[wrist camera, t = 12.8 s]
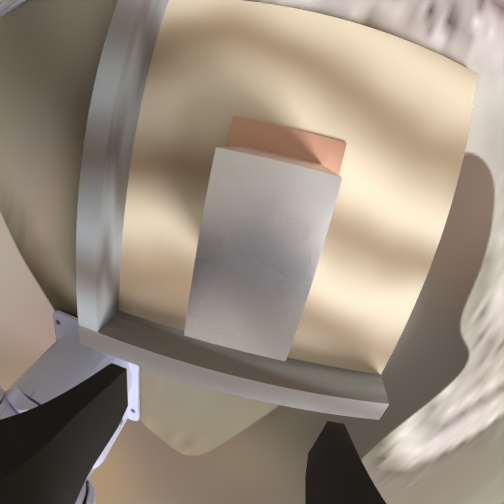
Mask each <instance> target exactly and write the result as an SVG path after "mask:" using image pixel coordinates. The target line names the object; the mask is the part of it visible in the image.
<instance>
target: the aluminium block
mask: <svg viewBox="0 0 504 504" xmlns="http://www.w3.org/2000/svg"><path fill="white" fill-rule="evenodd" d="M341 181H342V177H341V176H339V175H338V174H336V173H335V172H333V171H331V170H330V169H328V168H327V167H325V166H323V165H321V164H317V163H314V162H310V161H306V160H302V159H298V158H294V157H290V156H286V155H282V154H277V153H273V152H269V151H264V150H260V149H255V148H251V147H216V149H215V154H214V159H213V164H212V169H211V174H210V179H209V184H208V189H207V195H206V200H205V205H204V211H203V216H202V222H201V228H200V233H199V239H198V245H197V251H196V257H195V263H194V270H193V276H192V283H191V289H190V296H189V303H188V310H187V317H186V324H185V331H184V336H188V337H191V338H195V339H198V340H202V341H205V342H209V343H213V344H216V345H220V346H224V347H228V348H231V349H235V350H239V351H243V352H247V353H251V354H256V355H260V356H264V357H268V358H273V359H277V360H281V361H286V359H287V356H288V353H289V350H290V348H291V345H292V342H293V339H294V336H295V333H296V330H297V327H298V324H299V321H300V318H301V315H302V312H303V309H304V306H305V303H306V300H307V297H308V294H309V291H310V288H311V285H312V281H313V278H314V275H315V272H316V269H317V265H318V262H319V259H320V255H321V252H322V249H323V245H324V242H325V239H326V235H327V232H328V228H329V225H330V221H331V218H332V214H333V210H334V207H335V203H336V200H337V196H338V192H339V188H340V185H341Z"/></svg>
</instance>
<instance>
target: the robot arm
mask: <svg viewBox="0 0 504 504" xmlns="http://www.w3.org/2000/svg"><path fill="white" fill-rule="evenodd" d="M53 316H54V325H55V332H56V340H57V341H56V342H55V343H54V344H53V345H52V346H51V347H50V348H49V349H48V350H47V351H46V352H45V353H44V354H43V355H42V356H41V357H40V358H39V359H38V360H37V361H36V362H35V363H34V364H33V365H32V366H31V367H30V368H29V369H28V370H27V371H26V372H25V373H24V374H23V375H22V376H21V377H20V378H19V379H18V380H17V381H16V382H15V383H14V384H13V385H12V386H11V387H10V388H9V389H8V390H6V391H3V389H2V388H1V387H0V504H95V496H96V495H95V487H94V485H93V483H92V482H91V481H90V480H89V477H90V475H91V473H92V472H93V470H94V469H95V468H96V467H98V466H99V465H100V464H101V463H102V462H103V461H104V459H105V457H106V456H107V454H108V452H109V450H110V448H111V446H112V445H113V443H114V441H115V439H116V438H117V436H118V434H119V433H120V431H121V429H122V427H123V425H124V423H125V422H126V420H127V418H128V419H130V420H133V421H138V420H139V417H140V411H139V366H138V365H135V364H132V363H129V362H127V361H124V360H121V359H118V358H116V357H113V356H111V355H108V354H106V353H103V352H101V351H98V350H96V349H93V348H91V347H88V346H86V345H84V344H81V343H80V338H79V326H78V318H76V317H74V316H72V315H69V314H67V313H64V312H62V311H60V310H57V311H55V312H54V315H53ZM59 321H60V322H59ZM306 504H386V503H385V501H384V500H383V498H382V497H381V495H380V493H379V492H378V490H377V488H376V487H375V485H374V483H373V482H372V480H371V478H370V476H369V474H368V473H367V471H366V469H365V467H364V465H363V463H362V461H361V459H360V457H359V455H358V453H357V451H356V449H355V447H354V444H353V442H352V440H351V438H350V435H349V433H348V431H347V429H346V427H345V425H344V424H343V423H335V422H329V421H328V422H327V423H326V425H325V427H324V428H323V430H322V432H321V434H320V435H319V437H318V439H317V440H316V442H315V443H314V445H313V447H312V448H311V450H310V451H309V453H308V461H307V469H306Z"/></svg>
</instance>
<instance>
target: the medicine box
mask: <svg viewBox="0 0 504 504" xmlns="http://www.w3.org/2000/svg"><path fill="white" fill-rule="evenodd" d="M25 1H27V0H0V17H2V16H3V15H5V14H6V13H8V12H9V11H11V10H12V9H14V8H16V7H17V6H19V5H20V4H22V3H24V2H25Z"/></svg>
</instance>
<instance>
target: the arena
mask: <svg viewBox="0 0 504 504" xmlns="http://www.w3.org/2000/svg"><path fill="white" fill-rule="evenodd" d="M477 76H478V74H477V73H476V72H474V71H472V70H470V69H468V68H466V67H464V66H462V65H460V64H458V63H456V62H454V61H452V60H450V59H448V58H446V57H444V56H442V55H440V54H438V53H435V52H433V51H431V50H429V49H426V48H424V47H422V46H419V45H417V44H414V43H412V42H409V41H407V40H404V39H402V38H399V37H396V36H394V35H391V34H388V33H385V32H382V31H379V30H376V29H373V28H370V27H367V26H364V25H361V24H357V23H354V22H351V21H347V20H343V19H340V18H336V17H332V16H328V15H324V14H320V13H315V12H311V11H306V10H301V9H296V8H291V7H286V6H280V5H274V4H267V3H260V2H252V1H243V0H118V1H117V4H116V7H115V10H114V13H113V16H112V19H111V22H110V26H109V29H108V32H107V36H106V39H105V43H104V46H103V50H102V54H101V58H100V62H99V66H98V70H97V74H96V79H95V83H94V88H93V93H92V98H91V103H90V108H89V114H88V119H87V125H86V132H85V139H84V146H83V153H82V162H81V171H80V181H79V193H78V207H77V227H76V292H77V312H78V326H79V338H80V343H81V344H84V345H86V346H88V347H91V348H93V349H96V350H98V351H101V352H103V353H106V354H108V355H111V356H113V357H116V358H118V359H121V360H124V361H127V362H129V363H132V364H135V365H138V366H140V367H143V368H146V369H149V370H152V371H155V372H158V373H161V374H164V375H167V376H170V377H173V378H177V379H180V380H183V381H186V382H190V383H193V384H197V385H200V386H204V387H207V388H211V389H215V390H218V391H222V392H226V393H230V394H234V395H238V396H242V397H246V398H251V399H255V400H259V401H264V402H269V403H273V404H278V405H283V406H289V407H294V408H299V409H305V410H310V411H316V412H324V413H329V414H336V415H344V416H351V417H359V418H368V419H378V420H379V419H380V417H381V416H382V414H383V413H384V411H385V410H386V408H387V407H388V405H389V401H388V398H387V395H386V391H385V388H384V385H383V381H382V378H381V373H382V371H383V369H384V367H385V365H386V364H387V362H388V360H389V357H390V356H391V354H392V352H393V350H394V348H395V346H396V344H397V342H398V340H399V338H400V336H401V334H402V332H403V329H404V327H405V325H406V323H407V321H408V318H409V316H410V314H411V312H412V309H413V307H414V305H415V303H416V300H417V298H418V296H419V293H420V291H421V288H422V286H423V284H424V281H425V278H426V276H427V274H428V271H429V268H430V266H431V263H432V260H433V258H434V255H435V252H436V249H437V247H438V244H439V241H440V238H441V235H442V232H443V229H444V226H445V223H446V220H447V216H448V213H449V210H450V207H451V203H452V200H453V196H454V192H455V189H456V185H457V181H458V178H459V173H460V170H461V166H462V161H463V157H464V153H465V148H466V144H467V139H468V134H469V129H470V123H471V118H472V112H473V105H474V99H475V92H476V84H477ZM216 147H251V148H255V149H260V150H264V151H269V152H273V153H277V154H282V155H286V156H290V157H294V158H298V159H302V160H306V161H310V162H314V163H317V164H321V165H323V166H325V167H327V168H328V169H330V170H331V171H333V172H335V173H336V174H338V175H339V176H341V177H342V181H341V185H340V188H339V192H338V196H337V200H336V203H335V207H334V210H333V214H332V218H331V221H330V225H329V228H328V232H327V235H326V239H325V242H324V245H323V249H322V252H321V255H320V259H319V262H318V265H317V269H316V272H315V275H314V278H313V281H312V285H311V288H310V291H309V294H308V297H307V300H306V303H305V306H304V309H303V312H302V315H301V318H300V321H299V324H298V327H297V330H296V333H295V336H294V339H293V342H292V345H291V348H290V350H289V353H288V356H287V359H286V361H281V360H277V359H273V358H268V357H264V356H260V355H256V354H251V353H247V352H243V351H239V350H235V349H231V348H228V347H224V346H220V345H216V344H213V343H209V342H205V341H202V340H198V339H195V338H191V337H188V336H184V331H185V324H186V317H187V310H188V303H189V296H190V289H191V283H192V276H193V270H194V263H195V257H196V251H197V245H198V239H199V233H200V228H201V222H202V216H203V211H204V205H205V200H206V195H207V189H208V184H209V179H210V174H211V169H212V164H213V159H214V154H215V149H216Z"/></svg>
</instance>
